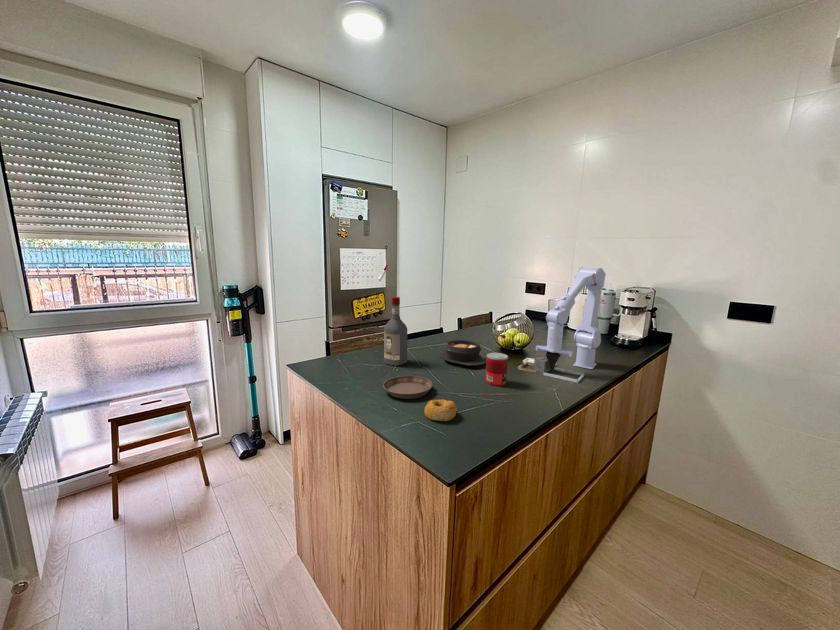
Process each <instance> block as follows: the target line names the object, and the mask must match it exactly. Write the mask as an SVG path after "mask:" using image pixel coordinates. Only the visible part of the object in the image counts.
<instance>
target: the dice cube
mask: <svg viewBox="0 0 840 630" xmlns="http://www.w3.org/2000/svg"><path fill="white" fill-rule="evenodd" d="M533 359H534V366H533V370H535V371H537V372H540V373H542V374H543V373H549V372H551V371H552V370H550V365H549V361H548V359H547V357H544V356H539V357H535V358H533Z"/></svg>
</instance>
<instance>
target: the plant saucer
mask: <svg viewBox="0 0 840 630" xmlns="http://www.w3.org/2000/svg"><path fill="white" fill-rule="evenodd" d="M382 387H383V388H384V390H385V391H386V392H387V394H389V395H390V396H391V397H393V398H397V399H402V400H412V399H419V398H422V397H424V396H425V395H427V394H428V393H429V392H430V390H431V389H432V387H433V382H432V381H431V380H430V379H428V378H426V377H423V376H417V375H400V376H399V375H398V376H395V377H391V378H389V379H387V380H385V381H384V382H383V385H382Z"/></svg>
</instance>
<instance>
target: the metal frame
mask: <svg viewBox="0 0 840 630" xmlns="http://www.w3.org/2000/svg"><path fill="white" fill-rule="evenodd" d="M553 371H557V372H562V373H567V374H571V375H576V376H579V377H578V379H575V378H572V377H571V378H570V377H566V376H561V375H557V374H554V373H549V372H545V373H542V374H543V376H546V377H550V378H555V379H559V380H562V381H563V380H564V381H569V382H571V383H572V382H573V383H580V381H582V379H583V378H584V377H585V373H584V372H578V371H575V370H574V371H573V370H570V369H564V368H559V367H555V368H554V370H553Z"/></svg>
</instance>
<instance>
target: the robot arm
mask: <svg viewBox="0 0 840 630" xmlns="http://www.w3.org/2000/svg"><path fill="white" fill-rule="evenodd" d="M574 278H575V279H574V281H573V283H572V284H571V287H570V288H569V290H568V292H566V294H564V295H562V296H561V297H560V299H559V300H558V302H557V303H556V304H555V306H554V307H553V308H551V309H550V310H548V311H547V312H546V313H547V314H546V316H545V320H546V325H547V327H548V328H547V339H546V340H547V341H546V345H538V344H537V345H536V346H535V351H537V352H538V351H539V352H544V353H545V358H547V359H548V361H549V365H550V370H551V371H555V370H554V368H556V366H557V365H556V363H557V362H558V361H559V358H560V357H561V355H562V356H567V357H569V358H570V357H571V358H572V357H573V355H574V351H573V350H569V349H566V348H565V349H564V348H562V345H563V335H564V334H563V333H564V325H565V324H566V323H567V321H568V318H569V315H570V311H571V310H572V308H573V307H574V306H575V304H576V300H575V299H576V297H577V296H579V294H580V293H581V291H583V289H584V288H586V289H587V292H586V293H587V295H586V301H585V307H584V312H583V319H582V324H581V325H579V326H577V327H576V330H575V333H574V334H573V340H574V343H575V345H576V347H577V350H576V357H575V362H574V363H573V364H572V366H573V367H574V366H575V367H577V368H578V367H579V368H584V369H589V370H593V369H594V368H595V367H596V365H597V362H595V360H596V359H595V358H596V349H597V348H599V346H601V342H602V338H601V334H602V333H601V330H600V329H599V328H598V327H597V326H596V325H597V319H598V313H599V309H600V307H599V306H600V301H601V295H602V291H603V290H602V289H603V288H604V286H605V279H606V272H605V270H604V268H602V267H598V268H597V267H583V266H582V267H579V268H578V269H577V271H576V272H575V274H574ZM555 365H556V366H555Z"/></svg>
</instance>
